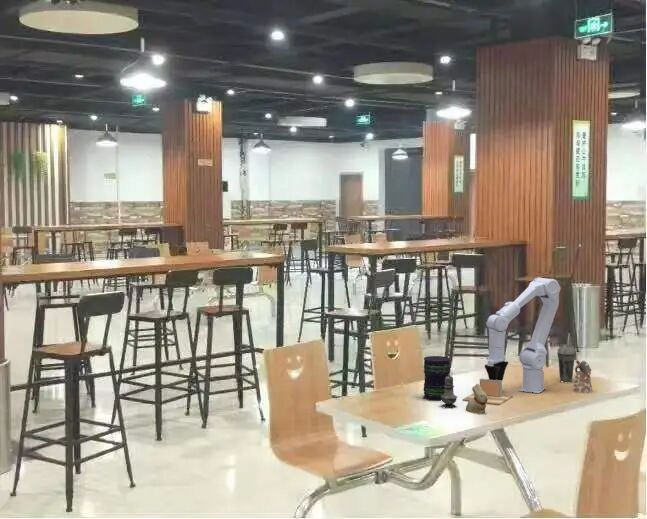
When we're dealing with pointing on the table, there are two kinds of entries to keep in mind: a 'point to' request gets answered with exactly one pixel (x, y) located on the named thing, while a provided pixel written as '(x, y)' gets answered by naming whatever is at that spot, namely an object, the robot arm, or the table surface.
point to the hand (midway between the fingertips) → (496, 382)
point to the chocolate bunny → (477, 401)
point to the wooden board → (491, 399)
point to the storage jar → (435, 376)
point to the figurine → (582, 378)
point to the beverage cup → (566, 361)
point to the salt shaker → (449, 393)
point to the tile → (491, 387)
